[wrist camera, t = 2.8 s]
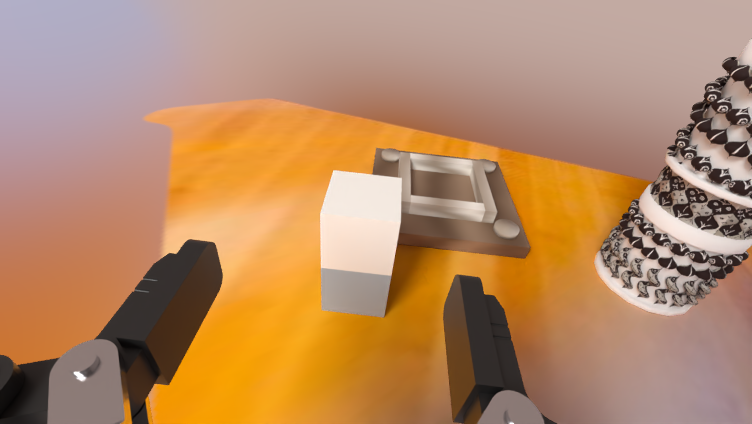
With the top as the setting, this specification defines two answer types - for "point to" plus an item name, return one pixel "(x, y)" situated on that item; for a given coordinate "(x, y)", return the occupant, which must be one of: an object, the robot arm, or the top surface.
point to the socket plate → (454, 203)
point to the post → (359, 241)
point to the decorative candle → (690, 206)
